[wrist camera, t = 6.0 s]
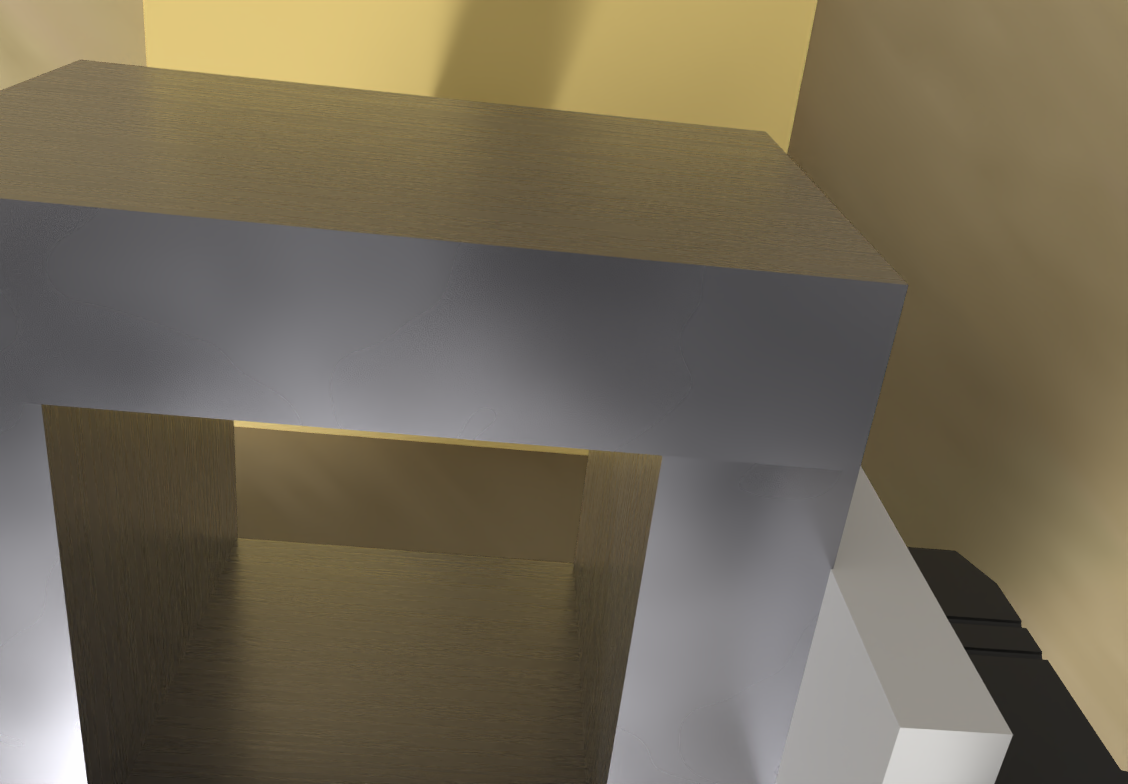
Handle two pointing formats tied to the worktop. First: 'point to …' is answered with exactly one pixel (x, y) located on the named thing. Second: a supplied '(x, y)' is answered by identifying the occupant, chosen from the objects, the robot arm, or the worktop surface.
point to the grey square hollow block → (413, 431)
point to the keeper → (510, 64)
